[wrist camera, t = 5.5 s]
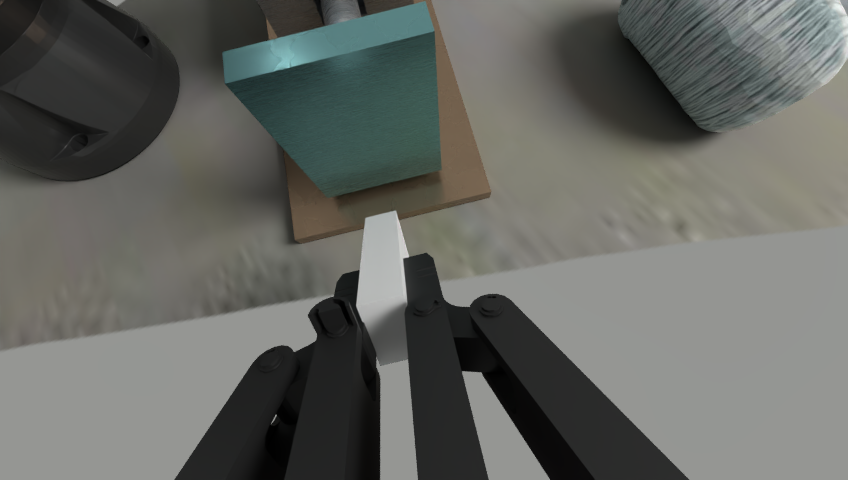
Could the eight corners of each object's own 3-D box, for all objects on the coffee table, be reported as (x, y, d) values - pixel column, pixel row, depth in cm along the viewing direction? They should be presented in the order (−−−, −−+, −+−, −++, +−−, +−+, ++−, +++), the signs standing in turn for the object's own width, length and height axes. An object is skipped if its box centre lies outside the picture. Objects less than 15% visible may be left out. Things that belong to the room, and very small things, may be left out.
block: (441, 169, 23) (434, 31, 13) (327, 198, 23) (224, 83, 13) (397, 10, 27) (364, -197, 17) (300, 34, 27) (205, -156, 17)
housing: (489, 197, 24) (511, 122, 16) (301, 243, 25) (220, 194, 16) (408, -62, 32) (393, -209, 23) (264, -25, 32) (196, -158, 23)
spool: (574, -14, 25) (750, -188, 16) (645, -1, 29) (813, -131, 21) (632, 163, 24) (847, 84, 16) (695, 149, 29) (889, 80, 20)
